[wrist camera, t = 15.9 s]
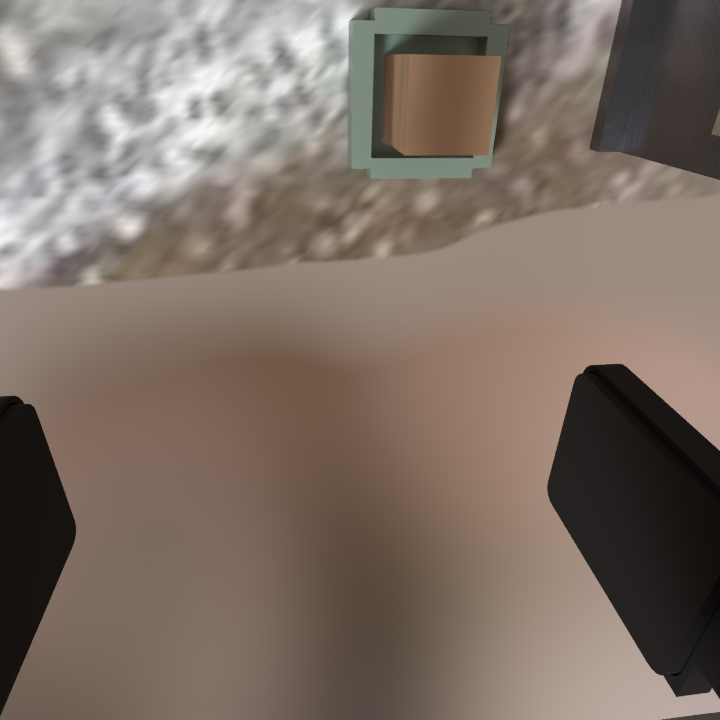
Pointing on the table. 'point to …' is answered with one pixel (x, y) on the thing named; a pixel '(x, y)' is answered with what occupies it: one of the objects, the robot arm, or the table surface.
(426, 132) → the block
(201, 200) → the table surface
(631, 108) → the block
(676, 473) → the robot arm
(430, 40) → the tray
